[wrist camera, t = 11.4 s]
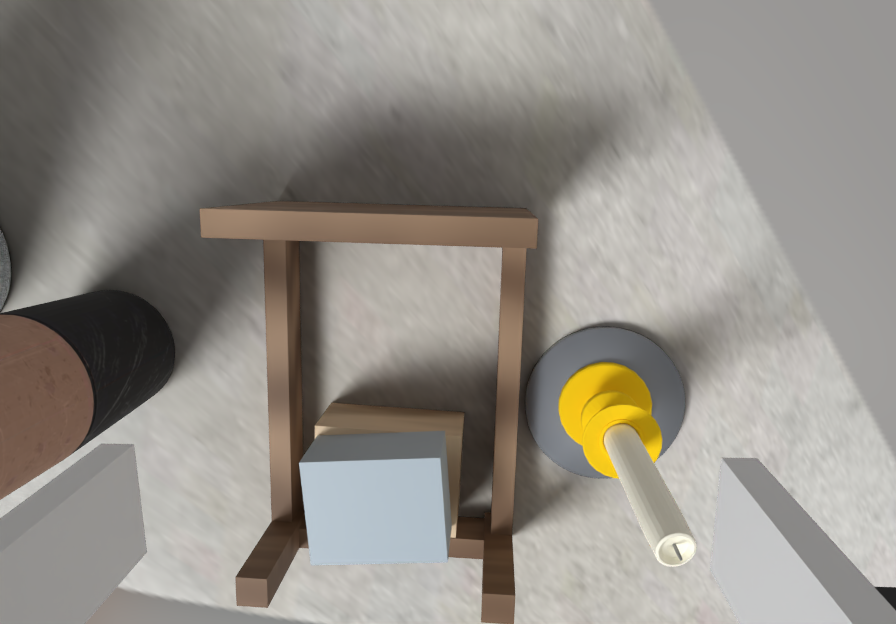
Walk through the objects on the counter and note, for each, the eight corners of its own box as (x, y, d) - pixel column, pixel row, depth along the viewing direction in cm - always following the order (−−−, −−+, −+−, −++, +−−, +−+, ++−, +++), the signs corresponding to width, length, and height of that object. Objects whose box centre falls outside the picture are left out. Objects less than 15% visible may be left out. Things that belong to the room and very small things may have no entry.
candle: (668, 415, 37) (790, 578, 22) (591, 464, 38) (658, 653, 23) (616, 343, 37) (705, 459, 21) (539, 395, 37) (572, 542, 22)
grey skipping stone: (529, 323, 37) (529, 325, 37) (689, 329, 37) (692, 332, 36) (521, 469, 39) (521, 474, 39) (674, 478, 39) (677, 482, 38)
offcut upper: (317, 435, 36) (298, 462, 32) (445, 430, 35) (440, 457, 32) (327, 529, 37) (311, 565, 33) (451, 526, 36) (447, 562, 33)
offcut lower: (332, 401, 39) (314, 425, 36) (464, 410, 39) (461, 436, 35) (331, 492, 41) (313, 526, 37) (459, 502, 40) (455, 537, 36)
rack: (277, 200, 37) (199, 208, 27) (525, 208, 36) (538, 218, 26) (285, 524, 41) (220, 632, 31) (509, 537, 40) (515, 653, 30)
